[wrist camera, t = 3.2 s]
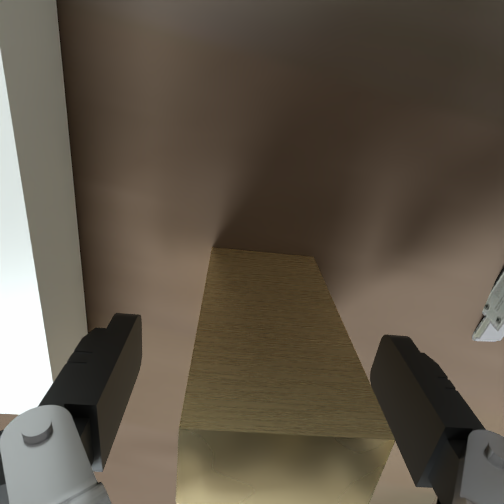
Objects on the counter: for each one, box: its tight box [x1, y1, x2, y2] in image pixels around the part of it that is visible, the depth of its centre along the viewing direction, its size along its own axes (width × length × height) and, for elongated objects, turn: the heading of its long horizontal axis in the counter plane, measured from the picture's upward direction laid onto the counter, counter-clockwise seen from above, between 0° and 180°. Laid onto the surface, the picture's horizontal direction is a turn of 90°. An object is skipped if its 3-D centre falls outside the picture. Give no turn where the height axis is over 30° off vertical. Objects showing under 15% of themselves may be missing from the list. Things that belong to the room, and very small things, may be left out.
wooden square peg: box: [176, 247, 395, 504], centre depth 11 cm, size 4×4×8 cm
